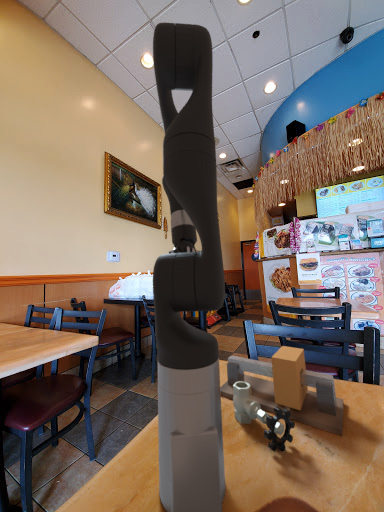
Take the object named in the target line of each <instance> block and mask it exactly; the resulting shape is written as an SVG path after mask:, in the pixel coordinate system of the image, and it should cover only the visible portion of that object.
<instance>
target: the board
mask: <svg viewBox="0 0 384 512" xmlns="http://www.w3.org/2000/svg"><path fill="white" fill-rule="evenodd" d="M244 382H247V383H249V384H250V385H251V391H252V394H251V396H252V398H253V400H255V401H256V402H258V403H259V404H260V406H261V410H263V411H265V412H266V411H267V412H270V413H272V414H275V415H276V412H274V408H275V407H276V406H277V407H279V408H280V409H282V411H283V408H286V409H287V410H289V411H290V412H291V416H290V417H289V419H291V420H292V421H297V422H299V423H303V424H306V425H307V426H311V427H315V428H317V429H320V430H324V431H326V432H329V433H332V434H334V435H338V436H343V428H344V426H343V424H344V423H343V422H344V406H345V405H344V402H345V401H344V398H340V397H337V396H336V403H337V410H336V416H333V415H330V414H327V413H323V412H320V411H318V402H317V393H316V391H312V390H308V391H307V394H306V397H305V399H304V402H303V405H302V407H301V410H297V409H293V408H290V407H287V406H284V405H280V404H277V403H275V395H274V382H273V380H272V381H271V380H269V379H264V378H260V377H256V376H252V375H248V374H245V373H244ZM220 392H221V397H225V398H229V399H231V400H233V396H234V393H233V386H232V385H228V380H227V381H225V383H223V384H222V385H220ZM282 414H284V411H283V413H282Z"/></svg>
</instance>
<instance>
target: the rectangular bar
mask: <svg viewBox="0 0 384 512" xmlns="http://www.w3.org/2000/svg"><path fill="white" fill-rule="evenodd" d="M226 371H227V374H226V375H227V381H228V385H232V386H233V385H234V383H236V382H239V381H243V382H244V374H245V373H246V372H247V373H251V374H255V375H259V376H262V377H267V378H272V379H273V370H272V362H268V361H267V362H266V361H262V360H256V359H252V358H247V357H241V356H236V355H230V356H229V357H227V363H226ZM300 377H301V385H305V386H307V387H308V388H309V387H310V388H312V389H313V388H314V389H315V392H316V393H317V402H318V411H320V412H323V413H327V414H330V415H333V416H336V410H337V403H336V397H337V396H336V395H337V394H336V388H335V387H336V385H335V379H334V375H332V374H327V373H322V372H316V371H312V370H307V369H306V370H303V369H301V371H300Z"/></svg>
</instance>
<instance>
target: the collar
mask: <svg viewBox="0 0 384 512" xmlns="http://www.w3.org/2000/svg"><path fill="white" fill-rule="evenodd" d="M271 363H272V370H273V378H272V381H273V382H274V395H275V403H277V404H280V405H284V406H287V407H290V408H293V409H297V410H301V407H302V405H303V402H304V399H305V397H306V394H307V391H308V388H309V386H305V385H301V377H300V371H301V369H303V370H307V368H306V367H307V366H306V360H305V349H304V348H299V347H292V346H285V345H282V346H281V347H279V348H278V350H277V351H276V352H274V354H273V355H272V356H271Z"/></svg>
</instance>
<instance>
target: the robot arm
mask: <svg viewBox="0 0 384 512" xmlns="http://www.w3.org/2000/svg"><path fill="white" fill-rule="evenodd" d="M213 57H214V56H213V42H212V37H211V34H210V31H209V30H208V29H207V27H205V26H203V25H200V24H195V23H193V24H191V23H178V22H176V23H174V22H159V23H157V24H156V25H155V27H154V31H153V37H152V59H153V60H152V61H153V69H154V78H155V83H156V84H155V85H156V92H157V97H158V104H159V110H160V116H161V120H162V127H163V131H164V136H163V140H162V141H163V142H162V175H163V176H162V178H161V184H162V188H163V190H164V192H165V195H166V197H167V200H168V202H169V214H170V231H171V242H172V245H173V249H171V250H169V251H168V253H163V254H161V255H159V256H158V257H157V258H156V259H155V262H154V265H153V271H152V294H153V295H152V297H153V307H154V308H153V309H154V326H155V327H154V329H155V344H156V353H157V417H158V420H157V421H158V422H157V423H158V425H157V426H158V431H157V432H158V467H159V468H158V473H159V474H158V476H159V477H158V479H159V480H158V484H159V493H158V494H159V499H160V502H161V505H162V507H163V508H164V509H165V511H166V512H223V502H224V500H225V495H226V476H225V475H226V473H225V472H226V471H225V455H224V439H223V438H224V437H223V436H224V435H223V434H224V433H223V416H222V415H223V414H222V395H221V392H220V387H221V373H220V372H221V371H220V355H219V354H220V352H219V342H218V339H217V337H215V335H213V334H211V333H209V332H207V331H205V330H202V329H199V328H197V327H195V326H193V325H191V323H188V321H186V320H184V318H183V317H182V316H181V312H186V313H187V312H215V311H218V310H221V308H222V307H223V305H224V302H225V298H226V297H225V296H226V295H225V294H226V287H225V286H226V280H225V269H224V262H223V259H224V258H223V252H222V251H223V250H222V241H221V233H220V232H221V231H220V225H219V224H220V223H219V214H218V213H219V211H218V210H219V209H218V183H217V182H218V181H217V180H218V179H217V174H218V172H217V153H216V151H217V150H216V149H217V148H216V139H215V129H214V128H215V127H214V126H215V125H214V115H213V113H214V112H213ZM172 91H187V92H189V91H190V92H191V94H190V97H189V98H188V100H187V101H186V103H185V104H184V105H183V107H182V108H181V109H180V110H179V112H178V109H177V108H176V105H175V102H174V97H173V92H172ZM197 236H198V237H197ZM198 238H199V240H200V243H201V250H200V251H197V250H196V249H197V248H196V244H197V242H198Z"/></svg>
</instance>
